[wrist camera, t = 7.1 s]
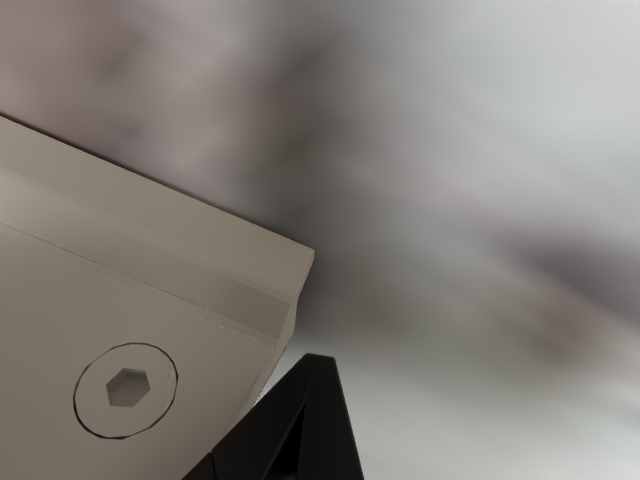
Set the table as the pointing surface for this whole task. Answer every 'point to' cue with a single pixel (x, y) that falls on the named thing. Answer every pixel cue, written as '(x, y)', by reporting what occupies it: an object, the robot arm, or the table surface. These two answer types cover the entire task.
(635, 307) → the table surface
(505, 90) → the table surface
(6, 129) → the hinge
